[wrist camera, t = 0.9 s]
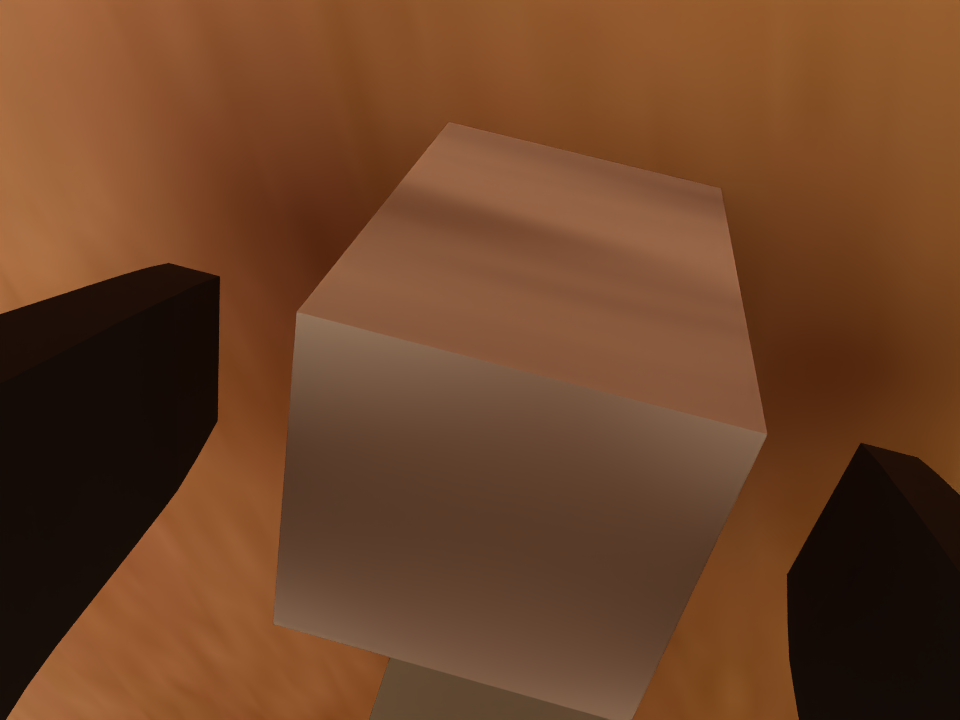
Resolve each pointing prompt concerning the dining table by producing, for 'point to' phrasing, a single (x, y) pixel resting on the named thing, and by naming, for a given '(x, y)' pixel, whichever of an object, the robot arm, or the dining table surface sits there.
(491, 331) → the brown metal block
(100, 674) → the dining table surface
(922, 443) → the dining table surface
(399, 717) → the sage block
